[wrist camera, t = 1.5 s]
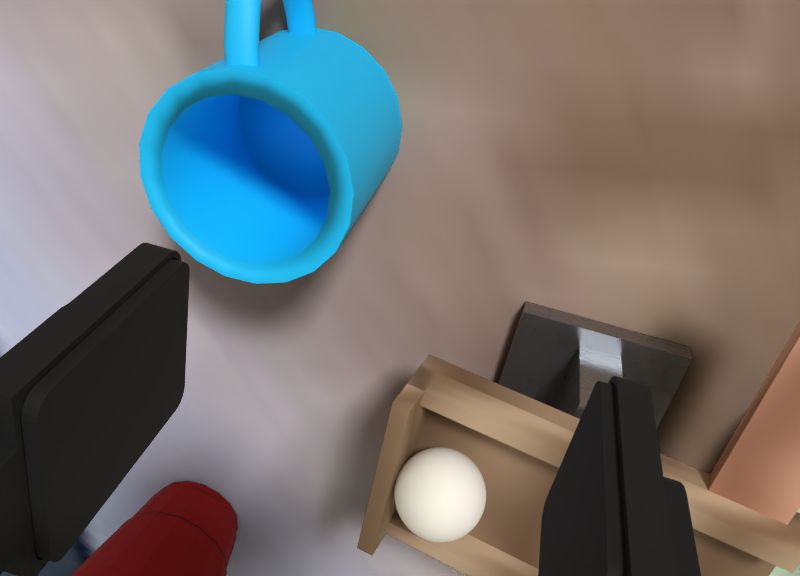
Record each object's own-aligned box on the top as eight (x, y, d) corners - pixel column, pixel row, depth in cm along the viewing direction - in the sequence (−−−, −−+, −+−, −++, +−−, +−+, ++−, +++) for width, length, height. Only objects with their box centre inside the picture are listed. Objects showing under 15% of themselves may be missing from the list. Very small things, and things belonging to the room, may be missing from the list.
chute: (939, 314, 23) (969, 378, 20) (706, 646, 33) (700, 726, 30) (481, 157, 27) (444, 189, 24) (392, 492, 37) (357, 547, 34)
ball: (509, 455, 31) (476, 514, 28) (486, 516, 34) (453, 578, 30) (428, 415, 33) (387, 467, 29) (411, 477, 35) (370, 532, 32)
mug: (402, 210, 34) (358, 294, 27) (241, 197, 36) (159, 273, 29) (401, -74, 28) (343, -60, 21) (207, -74, 30) (94, -61, 23)
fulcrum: (689, 347, 34) (706, 419, 30) (604, 516, 40) (608, 598, 36) (525, 301, 35) (517, 364, 30) (466, 475, 41) (452, 549, 37)
